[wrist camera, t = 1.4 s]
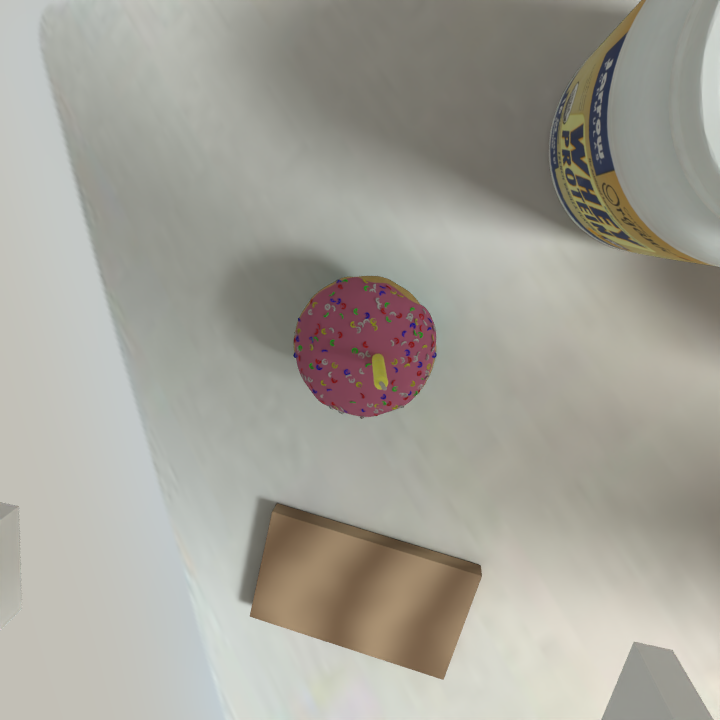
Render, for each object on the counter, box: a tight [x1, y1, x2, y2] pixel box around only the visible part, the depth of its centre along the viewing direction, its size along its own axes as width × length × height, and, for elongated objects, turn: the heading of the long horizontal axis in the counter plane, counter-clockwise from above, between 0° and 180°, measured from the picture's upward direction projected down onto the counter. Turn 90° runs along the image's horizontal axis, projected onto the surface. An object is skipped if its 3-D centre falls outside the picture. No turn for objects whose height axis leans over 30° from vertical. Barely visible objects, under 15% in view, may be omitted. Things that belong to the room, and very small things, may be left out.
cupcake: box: [294, 276, 436, 419], centre depth 29 cm, size 9×8×12 cm
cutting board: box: [250, 503, 482, 679], centre depth 39 cm, size 16×10×1 cm, turn 77°
